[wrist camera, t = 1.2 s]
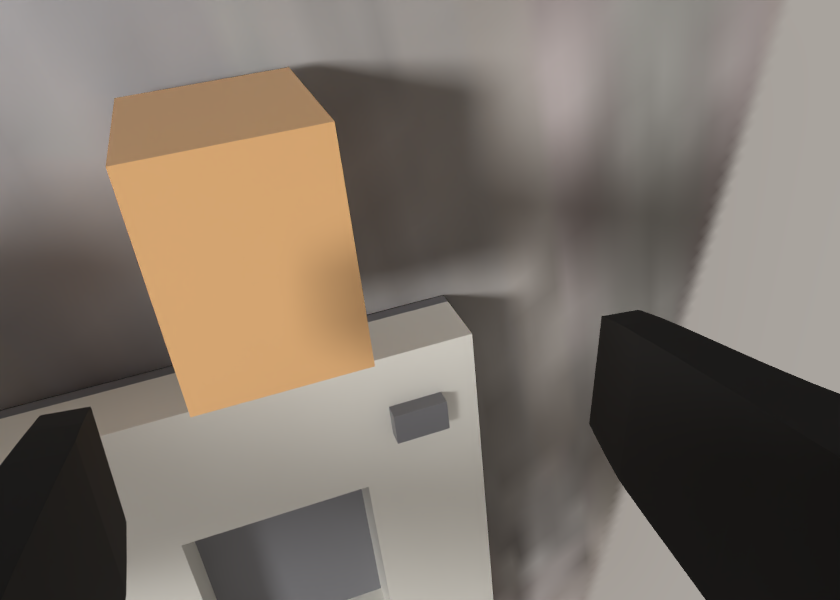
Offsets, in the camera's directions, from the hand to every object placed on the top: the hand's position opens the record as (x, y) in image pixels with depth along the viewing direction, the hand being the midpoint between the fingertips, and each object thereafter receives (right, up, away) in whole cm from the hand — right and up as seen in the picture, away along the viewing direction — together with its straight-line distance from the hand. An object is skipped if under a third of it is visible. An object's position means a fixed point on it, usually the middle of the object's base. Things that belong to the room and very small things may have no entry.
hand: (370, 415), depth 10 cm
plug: (-4, +5, +9) cm, 11 cm away
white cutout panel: (-4, -7, +15) cm, 17 cm away
